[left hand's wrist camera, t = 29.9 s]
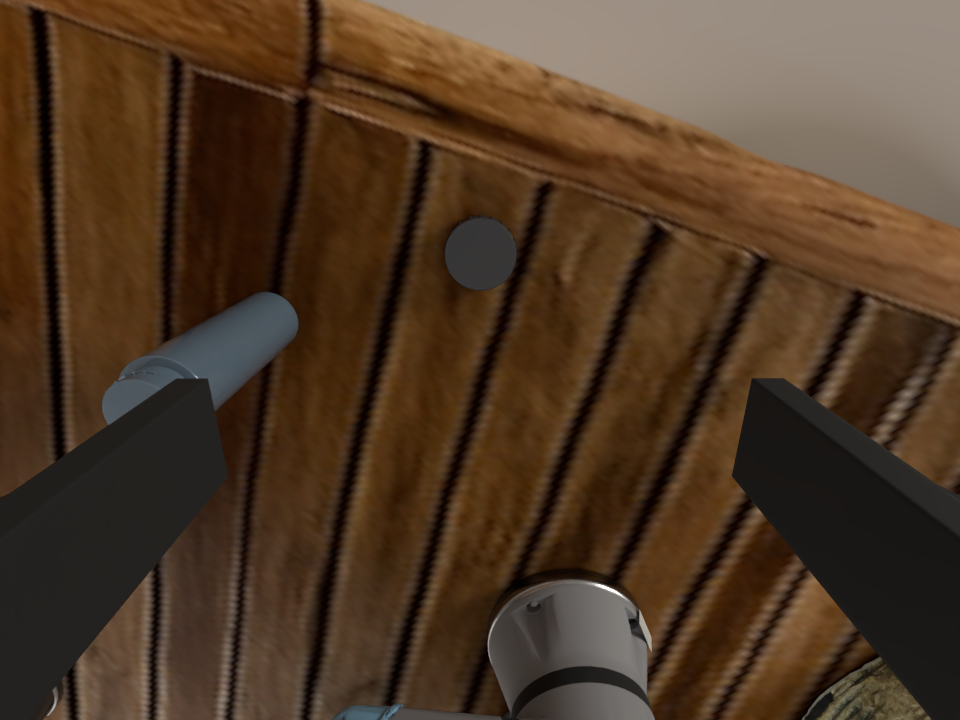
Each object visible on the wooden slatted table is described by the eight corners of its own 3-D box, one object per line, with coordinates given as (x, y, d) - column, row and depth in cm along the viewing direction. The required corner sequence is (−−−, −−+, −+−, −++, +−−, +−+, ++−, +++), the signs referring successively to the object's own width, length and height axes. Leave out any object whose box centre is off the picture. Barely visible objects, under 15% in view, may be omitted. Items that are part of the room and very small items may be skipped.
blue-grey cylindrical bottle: (226, 312, 39) (69, 400, 24) (272, 280, 38) (138, 352, 23) (266, 358, 40) (140, 470, 25) (310, 329, 40) (207, 426, 25)
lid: (530, 253, 37) (532, 257, 35) (478, 299, 39) (478, 306, 37) (483, 199, 36) (483, 200, 34) (431, 248, 37) (428, 253, 35)
